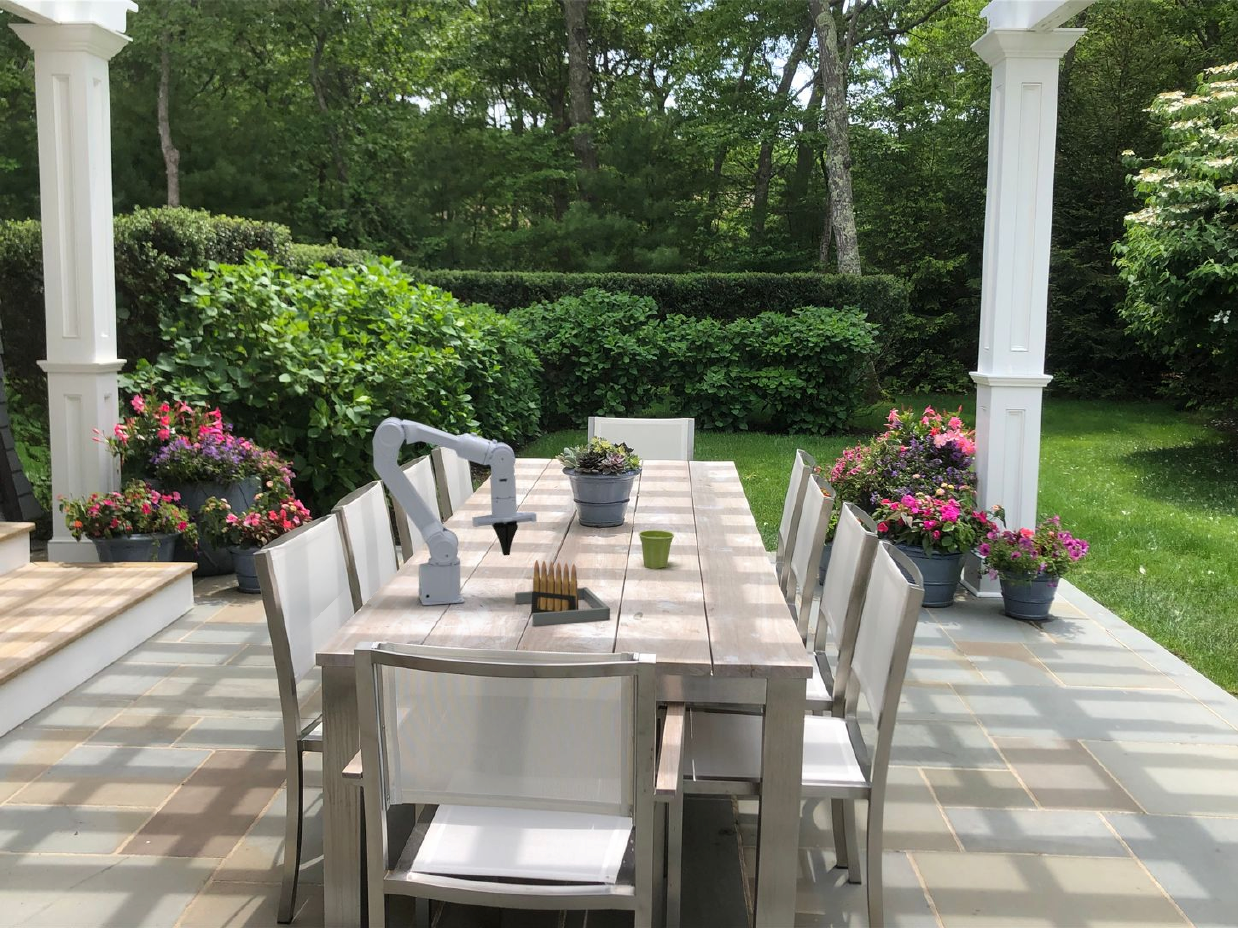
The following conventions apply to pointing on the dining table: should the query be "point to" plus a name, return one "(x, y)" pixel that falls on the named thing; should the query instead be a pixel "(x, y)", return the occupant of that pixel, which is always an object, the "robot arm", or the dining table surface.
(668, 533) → the plant pot
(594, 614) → the frame
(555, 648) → the dining table surface
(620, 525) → the dining table surface
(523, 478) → the dining table surface
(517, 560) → the dining table surface
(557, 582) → the ammunition clip
